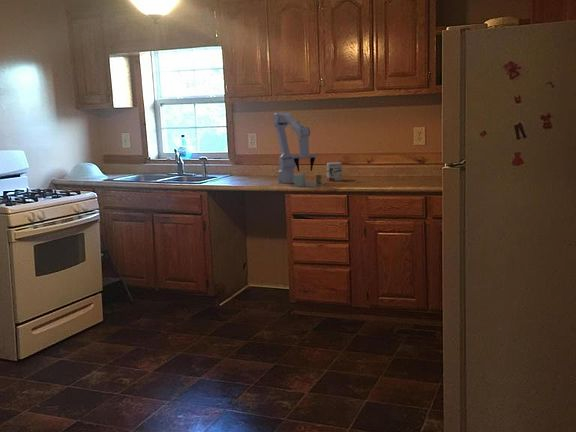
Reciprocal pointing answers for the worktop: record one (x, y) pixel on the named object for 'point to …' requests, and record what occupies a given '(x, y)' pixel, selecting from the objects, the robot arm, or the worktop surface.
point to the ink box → (334, 171)
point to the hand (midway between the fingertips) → (305, 170)
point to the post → (318, 179)
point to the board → (311, 184)
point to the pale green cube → (299, 180)
